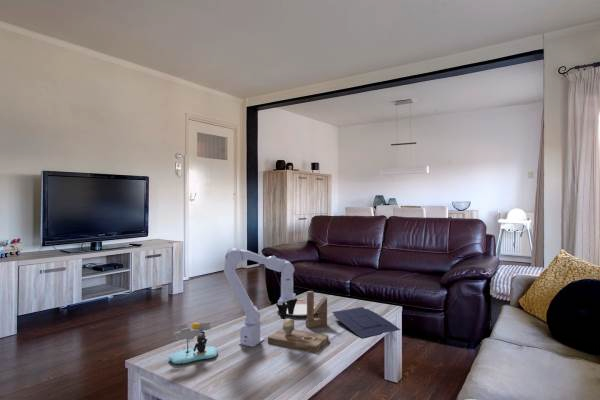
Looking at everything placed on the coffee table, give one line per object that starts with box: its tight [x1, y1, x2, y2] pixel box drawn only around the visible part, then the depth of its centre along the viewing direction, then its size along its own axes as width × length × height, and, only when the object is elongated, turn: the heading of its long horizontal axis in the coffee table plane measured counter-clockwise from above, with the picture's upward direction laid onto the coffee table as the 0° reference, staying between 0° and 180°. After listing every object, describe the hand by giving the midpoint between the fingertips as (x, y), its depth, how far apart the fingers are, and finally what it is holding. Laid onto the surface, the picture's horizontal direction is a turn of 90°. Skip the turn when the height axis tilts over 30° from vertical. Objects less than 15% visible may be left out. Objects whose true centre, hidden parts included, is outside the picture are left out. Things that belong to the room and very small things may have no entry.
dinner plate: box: [276, 299, 320, 317], centre depth 217 cm, size 28×27×3 cm
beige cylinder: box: [282, 318, 295, 336], centre depth 174 cm, size 5×5×6 cm
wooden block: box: [305, 290, 328, 329], centre depth 193 cm, size 4×11×18 cm, turn 113°
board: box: [267, 327, 329, 353], centre depth 172 cm, size 14×24×2 cm, turn 64°
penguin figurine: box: [168, 321, 219, 365], centre depth 155 cm, size 20×11×15 cm, turn 113°
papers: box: [331, 306, 401, 339], centre depth 194 cm, size 24×30×4 cm
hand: (287, 316), depth 175 cm, fingers open, 7 cm apart
